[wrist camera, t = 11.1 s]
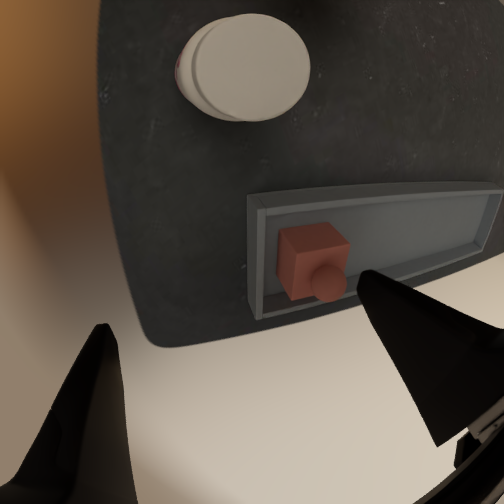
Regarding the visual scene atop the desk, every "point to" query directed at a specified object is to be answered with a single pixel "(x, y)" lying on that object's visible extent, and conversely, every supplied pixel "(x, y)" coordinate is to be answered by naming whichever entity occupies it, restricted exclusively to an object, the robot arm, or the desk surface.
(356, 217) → the tray
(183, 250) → the desk surface
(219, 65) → the pill bottle
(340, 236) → the red knobbed block
